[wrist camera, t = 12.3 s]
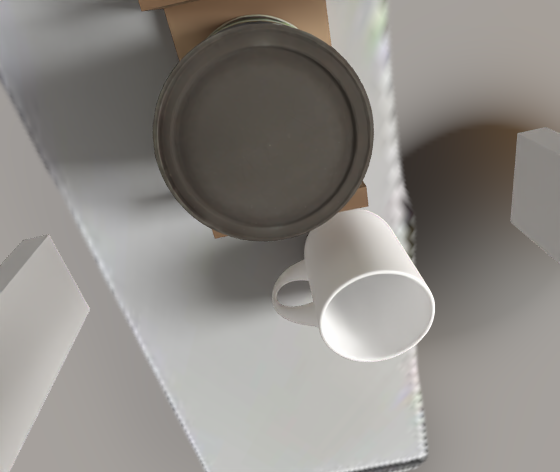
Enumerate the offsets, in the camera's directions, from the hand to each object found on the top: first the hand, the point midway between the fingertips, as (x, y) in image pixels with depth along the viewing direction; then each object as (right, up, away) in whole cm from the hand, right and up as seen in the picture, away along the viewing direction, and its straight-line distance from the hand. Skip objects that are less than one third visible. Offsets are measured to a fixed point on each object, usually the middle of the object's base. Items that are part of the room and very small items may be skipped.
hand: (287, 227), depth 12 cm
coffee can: (-2, +11, +20) cm, 23 cm away
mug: (+5, -2, +29) cm, 29 cm away
